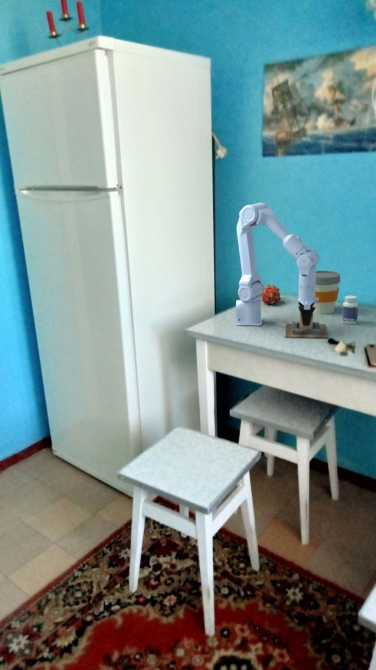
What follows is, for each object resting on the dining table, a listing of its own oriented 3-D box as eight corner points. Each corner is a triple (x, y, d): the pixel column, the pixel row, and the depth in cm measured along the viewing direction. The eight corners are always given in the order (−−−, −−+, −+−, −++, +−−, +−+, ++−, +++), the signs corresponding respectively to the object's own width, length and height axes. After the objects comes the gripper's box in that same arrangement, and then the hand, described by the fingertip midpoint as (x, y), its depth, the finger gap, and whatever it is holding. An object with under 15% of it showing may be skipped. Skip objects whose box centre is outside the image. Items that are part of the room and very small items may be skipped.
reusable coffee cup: (306, 305, 201) (307, 270, 196) (338, 306, 198) (340, 270, 193) (305, 315, 190) (306, 277, 185) (339, 316, 186) (341, 278, 181)
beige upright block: (299, 332, 170) (300, 313, 168) (299, 327, 175) (299, 309, 172) (312, 332, 170) (313, 313, 167) (312, 328, 174) (312, 309, 171)
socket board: (285, 337, 167) (285, 332, 167) (286, 324, 180) (286, 319, 179) (327, 338, 164) (327, 333, 164) (324, 325, 177) (325, 320, 176)
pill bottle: (357, 324, 176) (359, 298, 173) (342, 324, 177) (344, 298, 174) (356, 320, 181) (357, 294, 178) (341, 319, 182) (342, 294, 179)
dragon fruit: (272, 302, 214) (271, 314, 204) (256, 292, 213) (255, 303, 202) (283, 288, 210) (284, 299, 200) (267, 277, 209) (267, 288, 198)
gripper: (320, 291, 159) (318, 330, 164) (318, 280, 172) (316, 317, 177) (298, 291, 161) (297, 329, 165) (297, 281, 174) (297, 316, 178)
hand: (306, 323), depth 171 cm, fingers closed on beige upright block, 4 cm apart
